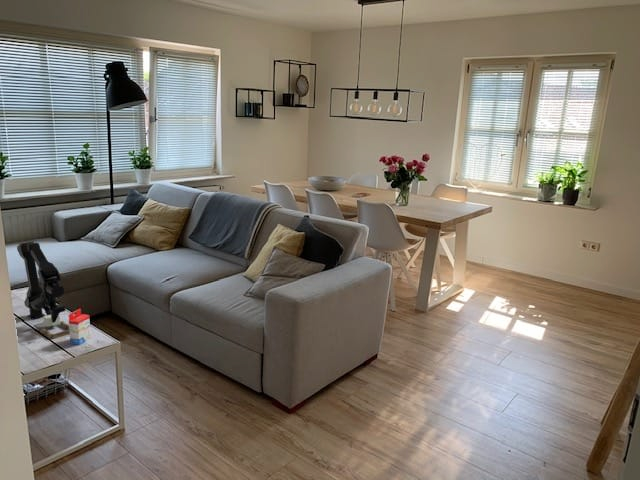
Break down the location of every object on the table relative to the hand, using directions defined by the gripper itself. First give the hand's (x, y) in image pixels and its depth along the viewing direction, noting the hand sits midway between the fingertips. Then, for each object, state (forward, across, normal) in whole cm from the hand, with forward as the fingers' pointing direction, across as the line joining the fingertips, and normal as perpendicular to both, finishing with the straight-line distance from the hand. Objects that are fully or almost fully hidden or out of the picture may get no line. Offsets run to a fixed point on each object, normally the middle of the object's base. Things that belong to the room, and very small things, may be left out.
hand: (51, 321), depth 243 cm
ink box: (+4, +23, +3) cm, 23 cm away
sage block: (+1, 0, 0) cm, 1 cm away
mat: (+4, -5, 0) cm, 6 cm away
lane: (+4, +6, 0) cm, 7 cm away
